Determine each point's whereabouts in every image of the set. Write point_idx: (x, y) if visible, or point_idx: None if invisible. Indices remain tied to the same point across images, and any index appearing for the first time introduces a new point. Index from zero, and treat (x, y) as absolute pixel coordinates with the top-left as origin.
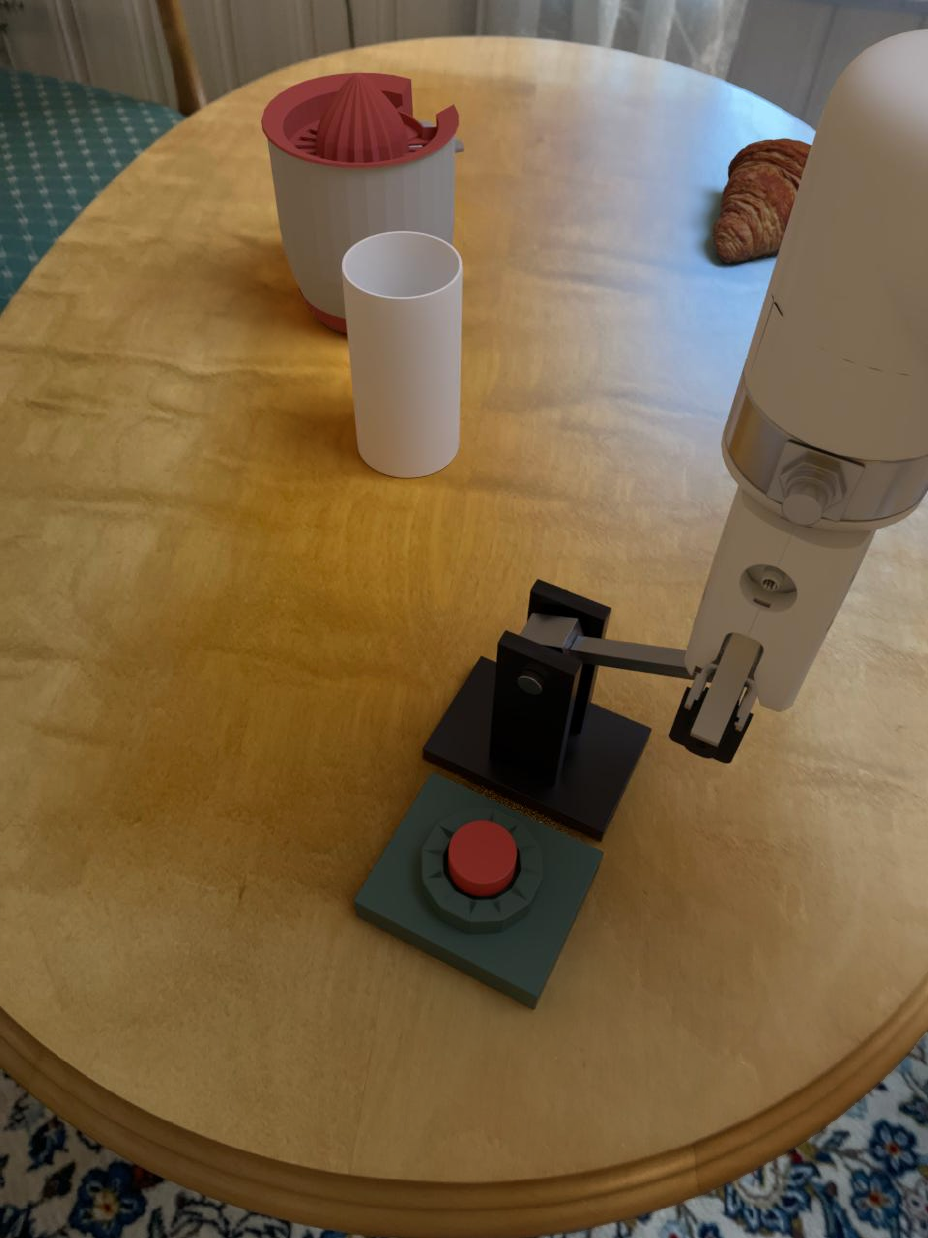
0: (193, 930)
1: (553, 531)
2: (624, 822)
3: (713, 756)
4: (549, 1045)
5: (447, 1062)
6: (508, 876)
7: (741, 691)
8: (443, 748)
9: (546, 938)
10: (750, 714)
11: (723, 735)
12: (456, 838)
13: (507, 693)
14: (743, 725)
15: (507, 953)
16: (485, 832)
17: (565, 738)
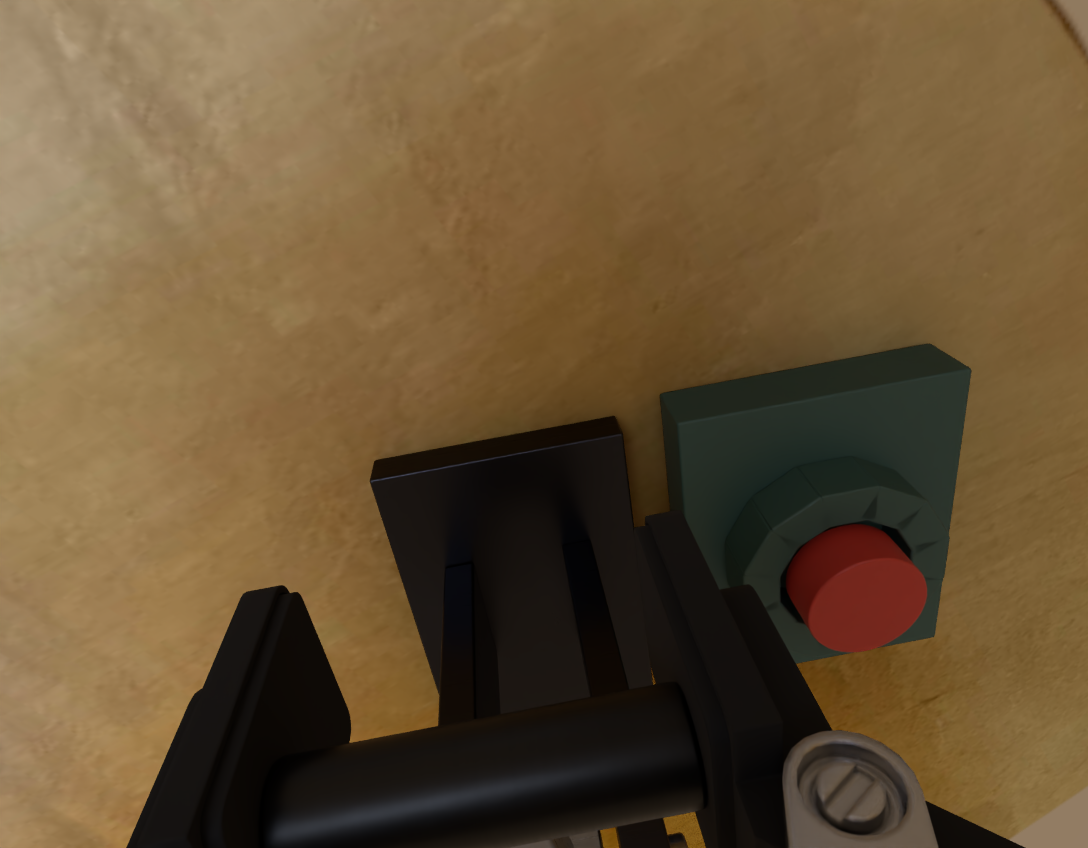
0: (993, 703)
1: (126, 785)
2: (554, 404)
3: (756, 593)
4: (971, 293)
5: (1044, 395)
6: (878, 548)
7: (586, 754)
8: (636, 681)
9: (874, 412)
10: (742, 737)
11: (815, 703)
12: (866, 647)
13: None
14: (924, 802)
15: (923, 444)
16: (833, 623)
17: (601, 645)
